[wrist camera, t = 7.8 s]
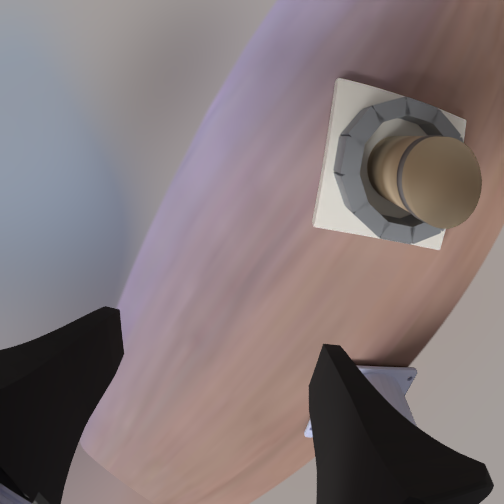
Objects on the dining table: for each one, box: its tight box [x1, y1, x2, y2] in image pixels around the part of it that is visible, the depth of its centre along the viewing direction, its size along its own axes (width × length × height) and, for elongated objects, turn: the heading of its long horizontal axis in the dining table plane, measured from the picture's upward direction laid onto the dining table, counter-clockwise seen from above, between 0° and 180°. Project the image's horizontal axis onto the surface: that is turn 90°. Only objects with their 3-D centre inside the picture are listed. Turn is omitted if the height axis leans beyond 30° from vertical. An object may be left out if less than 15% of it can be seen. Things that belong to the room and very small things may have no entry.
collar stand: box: [312, 78, 466, 250], centre depth 16 cm, size 9×9×3 cm
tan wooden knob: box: [367, 135, 482, 229], centre depth 14 cm, size 4×4×6 cm
